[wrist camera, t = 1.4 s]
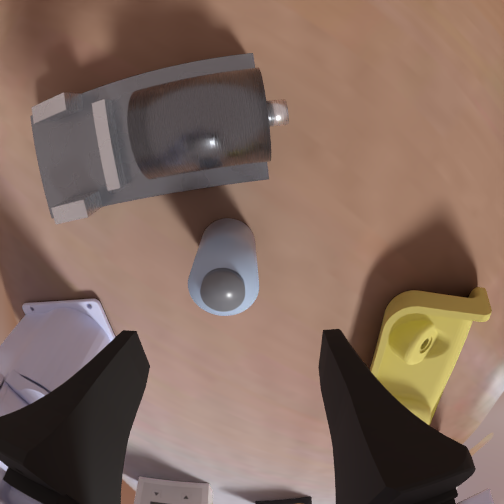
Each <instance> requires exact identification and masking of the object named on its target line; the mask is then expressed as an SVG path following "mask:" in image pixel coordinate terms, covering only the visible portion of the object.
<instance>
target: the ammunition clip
mask: <svg viewBox="0 0 504 504" xmlns="http://www.w3.org/2000/svg"><path fill="white" fill-rule="evenodd" d="M256 504H312V501H311V497H304V498H295V499H285V500H272V501H256Z"/></svg>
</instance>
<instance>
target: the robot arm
mask: <svg viewBox="0 0 504 504" xmlns="http://www.w3.org/2000/svg"><path fill="white" fill-rule="evenodd" d="M89 304H90V305H91V306H90V305H89ZM22 308H23V311H24V313H25V316H24V317H23V318H22V319H21V321H20V322H19V323H18V324H17V326H16V327H15V328H14V329H13V330H12V332H11V333H10V334H9V335H8V337H7V338H6V339H5V340H4V342H3V343H2V344H1V346H0V504H121V503H120V502H121V501H120V500H121V484H122V473H123V466H124V459H125V453H126V448H127V442H128V438H129V434H130V431H131V428H132V425H133V422H134V419H135V416H136V413H137V410H138V408H139V405H140V402H141V399H142V396H143V393H144V390H145V387H146V383H147V378H148V373H149V368H150V365H149V362H148V360H147V357H146V355H145V352H144V350H143V347H142V345H141V342H140V339H139V337H138V334H137V331H126V330H123V331H122V332H121V333H120V334H119V335H117V336H116V337H115V335H114V333H113V331H112V328H111V326H110V324H109V322H108V320H107V317H106V315H105V313H104V310H103V308H102V305H101V303H100V301H98V300H97V299H94V298H93V299H80V300H66V301H50V302H34V303H24V304H23V306H22ZM319 376H320V385H321V392H322V397H323V401H324V406H325V411H326V415H327V420H328V424H329V429H330V434H331V439H332V445H333V456H334V469H335V487H336V504H456V503H455V500H454V498H456V497H457V496H458V493H457V490H456V487H458V486H459V485H460V484H462V483H463V482H464V481H466V480H467V479H468V478H469V477H470V476H471V475H472V474H473V473H474V471H475V466H474V463H473V460H472V457H471V455H470V453H469V451H468V448H467V447H466V446H464V445H462V444H460V443H458V442H456V441H454V440H452V439H451V438H449V437H447V436H445V435H443V434H442V433H440V432H438V431H437V430H435V429H434V428H432V427H431V426H429V425H428V424H427V423H425V422H424V421H422V420H421V419H420V418H418V417H417V416H416V415H414V414H413V413H412V412H411V411H409V410H408V409H407V408H406V407H405V406H404V405H403V404H401V403H400V402H399V401H398V400H397V399H396V398H395V397H394V396H393V395H392V394H391V393H390V392H389V391H388V390H387V389H386V388H385V387H384V386H383V385H382V384H381V383H380V381H379V380H378V379H377V378H376V377H375V376H374V375H373V373H372V372H371V371H370V370H369V369H368V367H367V366H366V365H365V363H364V362H363V361H362V360H361V358H360V357H359V356H358V354H357V353H356V352H355V350H354V349H353V348H352V346H351V345H350V343H349V342H348V340H347V339H346V337H345V336H344V334H343V333H342V331H341V330H340V329H332V330H323V335H322V344H321V352H320V360H319ZM457 504H494V502H493V498H492V495H491V492H490V489H485V490H483V491H482V492H480V493H478V494H476V495H473V496H471V497H469V498H467V499H465V500H463V501H461V502H459V503H457Z"/></svg>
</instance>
